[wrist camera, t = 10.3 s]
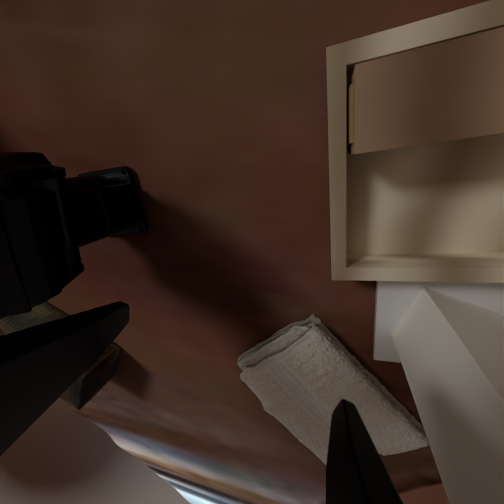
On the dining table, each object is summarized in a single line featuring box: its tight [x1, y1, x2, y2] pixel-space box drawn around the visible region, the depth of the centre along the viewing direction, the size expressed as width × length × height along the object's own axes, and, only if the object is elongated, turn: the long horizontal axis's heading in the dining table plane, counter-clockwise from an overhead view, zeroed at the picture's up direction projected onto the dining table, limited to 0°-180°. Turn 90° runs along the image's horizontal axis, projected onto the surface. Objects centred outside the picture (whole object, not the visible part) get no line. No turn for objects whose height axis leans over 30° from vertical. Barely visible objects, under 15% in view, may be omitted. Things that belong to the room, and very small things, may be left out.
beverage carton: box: [0, 302, 120, 410], centre depth 34 cm, size 8×19×7 cm, turn 66°
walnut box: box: [347, 27, 504, 154], centre depth 13 cm, size 7×4×4 cm, turn 98°
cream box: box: [392, 287, 504, 504], centre depth 13 cm, size 5×5×12 cm
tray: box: [326, 0, 504, 283], centre depth 14 cm, size 14×14×3 cm
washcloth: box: [237, 314, 429, 465], centre depth 25 cm, size 12×18×3 cm, turn 47°
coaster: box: [373, 281, 504, 363], centre depth 19 cm, size 9×9×1 cm
